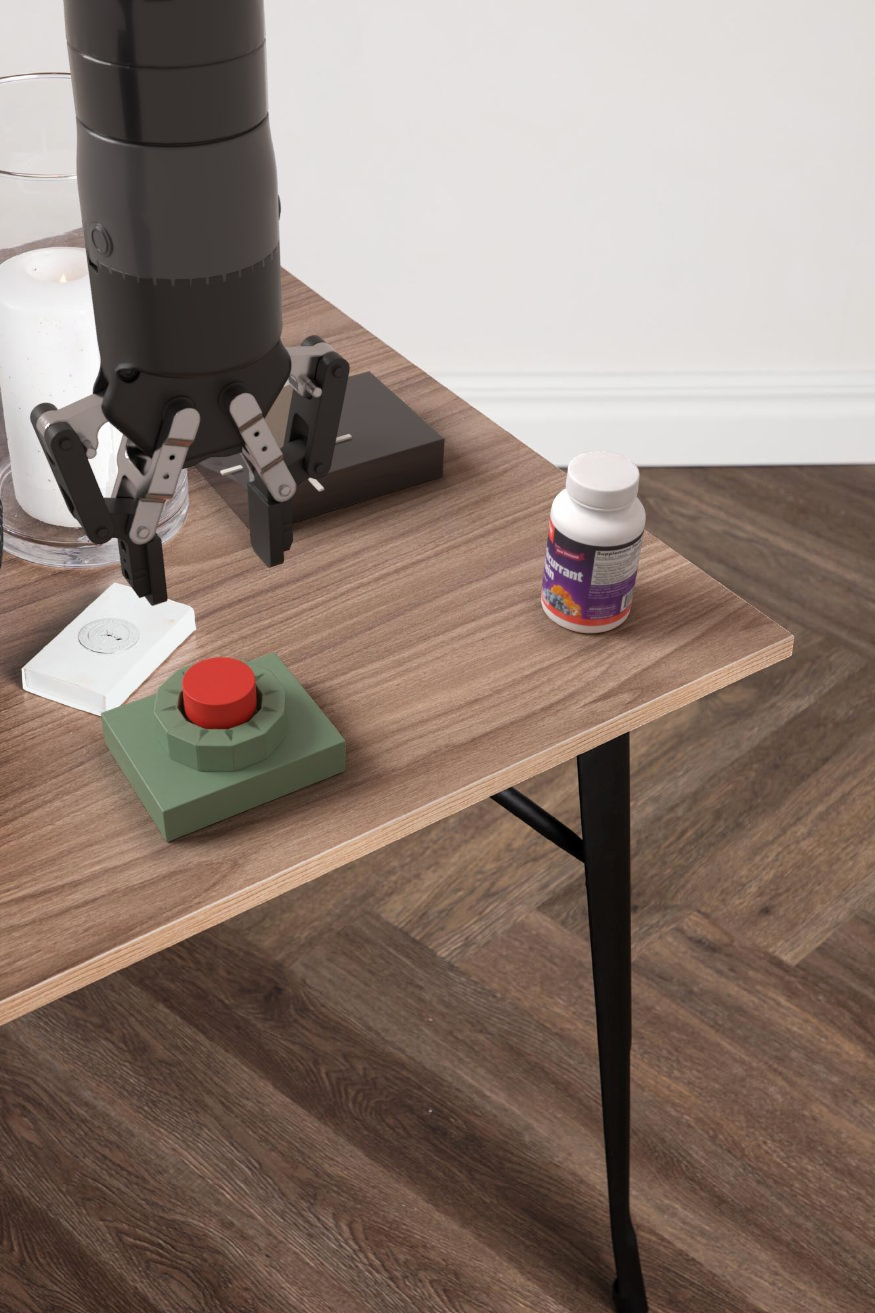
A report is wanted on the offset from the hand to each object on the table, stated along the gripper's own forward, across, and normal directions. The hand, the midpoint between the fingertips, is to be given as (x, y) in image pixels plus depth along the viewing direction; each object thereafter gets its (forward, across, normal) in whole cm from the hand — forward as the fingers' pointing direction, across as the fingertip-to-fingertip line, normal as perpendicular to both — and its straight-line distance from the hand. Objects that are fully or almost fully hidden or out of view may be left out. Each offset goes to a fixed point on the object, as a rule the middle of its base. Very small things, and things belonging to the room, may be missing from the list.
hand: (210, 574), depth 66 cm
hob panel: (+12, -17, -22) cm, 30 cm away
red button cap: (+8, 0, 0) cm, 8 cm away
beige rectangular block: (+9, -14, -20) cm, 26 cm away
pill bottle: (+12, -24, -1) cm, 27 cm away
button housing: (+12, 0, 0) cm, 12 cm away
